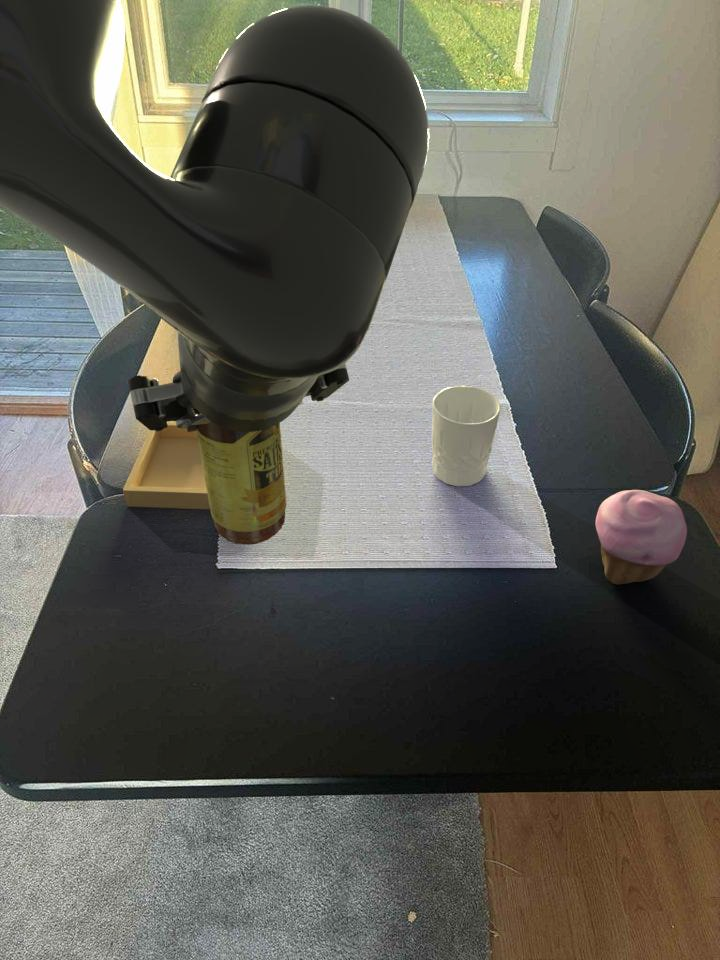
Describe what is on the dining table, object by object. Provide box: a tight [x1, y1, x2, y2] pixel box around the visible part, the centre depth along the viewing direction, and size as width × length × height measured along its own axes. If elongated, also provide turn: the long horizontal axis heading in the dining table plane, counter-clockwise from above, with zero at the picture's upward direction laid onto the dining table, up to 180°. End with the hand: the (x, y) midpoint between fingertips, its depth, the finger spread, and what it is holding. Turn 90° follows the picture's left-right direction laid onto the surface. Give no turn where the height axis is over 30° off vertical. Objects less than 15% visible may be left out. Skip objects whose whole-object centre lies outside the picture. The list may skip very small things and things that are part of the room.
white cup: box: [431, 385, 502, 487], centre depth 85 cm, size 8×8×10 cm
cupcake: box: [595, 489, 688, 585], centre depth 72 cm, size 9×9×10 cm
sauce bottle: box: [197, 422, 287, 546], centre depth 53 cm, size 6×6×20 cm
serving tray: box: [122, 421, 210, 510], centre depth 87 cm, size 16×14×3 cm
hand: (234, 410), depth 54 cm, fingers closed on sauce bottle, 6 cm apart
